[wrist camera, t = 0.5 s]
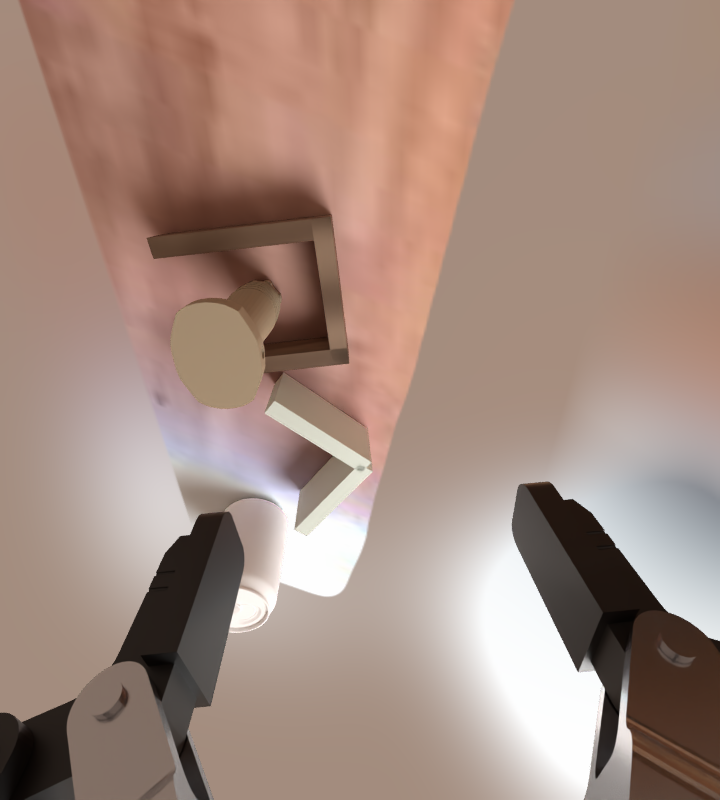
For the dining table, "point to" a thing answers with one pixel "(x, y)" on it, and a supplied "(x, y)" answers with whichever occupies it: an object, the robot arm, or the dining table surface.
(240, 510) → the beverage can
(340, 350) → the u-shaped bracket
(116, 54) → the dining table surface
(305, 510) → the cream l-shaped bracket
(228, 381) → the handle
